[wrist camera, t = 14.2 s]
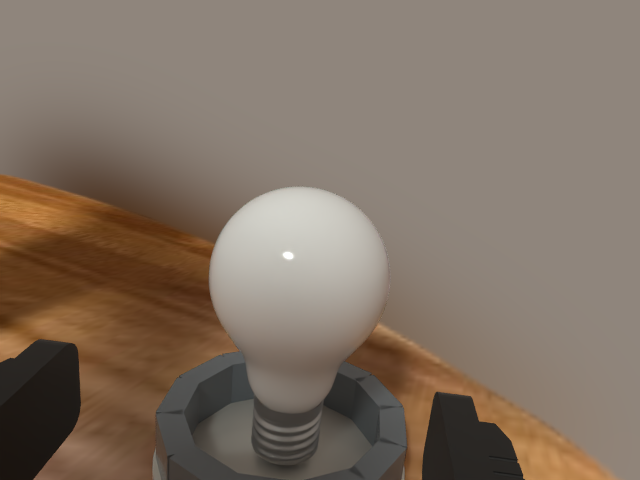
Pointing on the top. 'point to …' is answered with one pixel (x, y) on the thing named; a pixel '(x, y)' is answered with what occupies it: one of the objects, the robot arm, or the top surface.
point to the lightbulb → (296, 306)
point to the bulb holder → (236, 425)
